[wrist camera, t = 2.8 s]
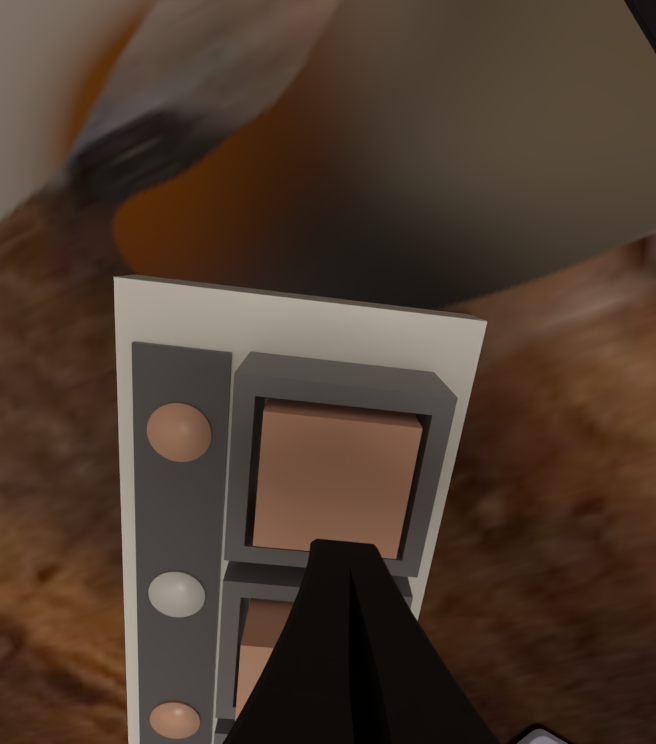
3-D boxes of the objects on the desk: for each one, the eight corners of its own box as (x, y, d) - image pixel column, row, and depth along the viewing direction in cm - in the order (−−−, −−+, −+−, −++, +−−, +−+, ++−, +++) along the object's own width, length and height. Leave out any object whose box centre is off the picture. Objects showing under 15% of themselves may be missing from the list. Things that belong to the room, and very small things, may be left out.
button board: (372, 763, 21) (382, 875, 17) (143, 747, 21) (102, 859, 17) (471, 314, 14) (524, 336, 11) (135, 274, 14) (64, 282, 10)
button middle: (360, 682, 16) (366, 757, 13) (246, 674, 15) (233, 748, 13) (377, 592, 14) (388, 657, 12) (254, 581, 14) (240, 645, 12)
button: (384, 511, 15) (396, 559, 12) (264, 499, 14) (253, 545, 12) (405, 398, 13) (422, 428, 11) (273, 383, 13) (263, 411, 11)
